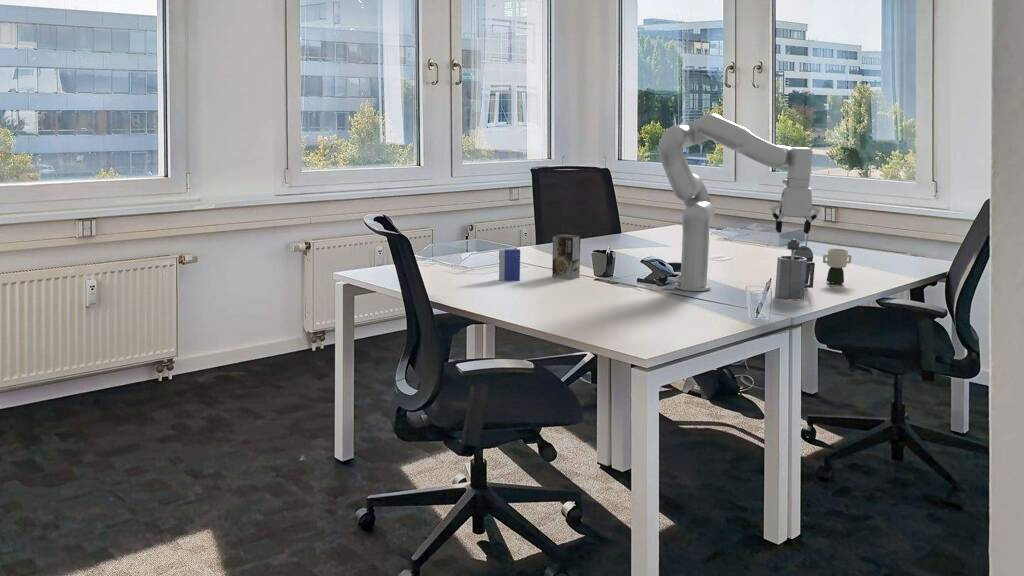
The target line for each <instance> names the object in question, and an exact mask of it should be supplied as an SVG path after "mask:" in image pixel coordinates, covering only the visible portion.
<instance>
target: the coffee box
mask: <svg viewBox="0 0 1024 576" xmlns="http://www.w3.org/2000/svg"><path fill="white" fill-rule="evenodd" d="M580 262H581V235H575V234H563V233H562V234H556V235H553V236H552V265H551V266H552V267H551V268H552V269H551V270H552V271H551V272H552V273H551V276H552V278H558V279H568V280H574V279H577V278H580V273H581V272H580V271H581V270H580V268H581V263H580Z"/></svg>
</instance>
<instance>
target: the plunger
mask: <svg viewBox="0 0 1024 576" xmlns="http://www.w3.org/2000/svg"><path fill="white" fill-rule="evenodd" d="M799 247H800V241H797V239H796V238H792V239H790V240H789V241H787V246H786V249H787V250H791V252H790V254H791V255H790V256H791V260H794V252H795V250H799Z"/></svg>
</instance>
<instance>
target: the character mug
mask: <svg viewBox="0 0 1024 576" xmlns="http://www.w3.org/2000/svg"><path fill="white" fill-rule="evenodd" d="M822 263H823V264H826V265H827V266H828V267H829V269H828V273H827V276H826V282H827V283H830V284H831V285H832V284H835V285H836V284H837V285H838V284H844V283H845V273H844V272H845V271H844V268H846V267H847V264H851V263H852V254H849V253H848V250H847V249H843V248H829V249H828V250H827V254H824V255H823V256H822Z"/></svg>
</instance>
